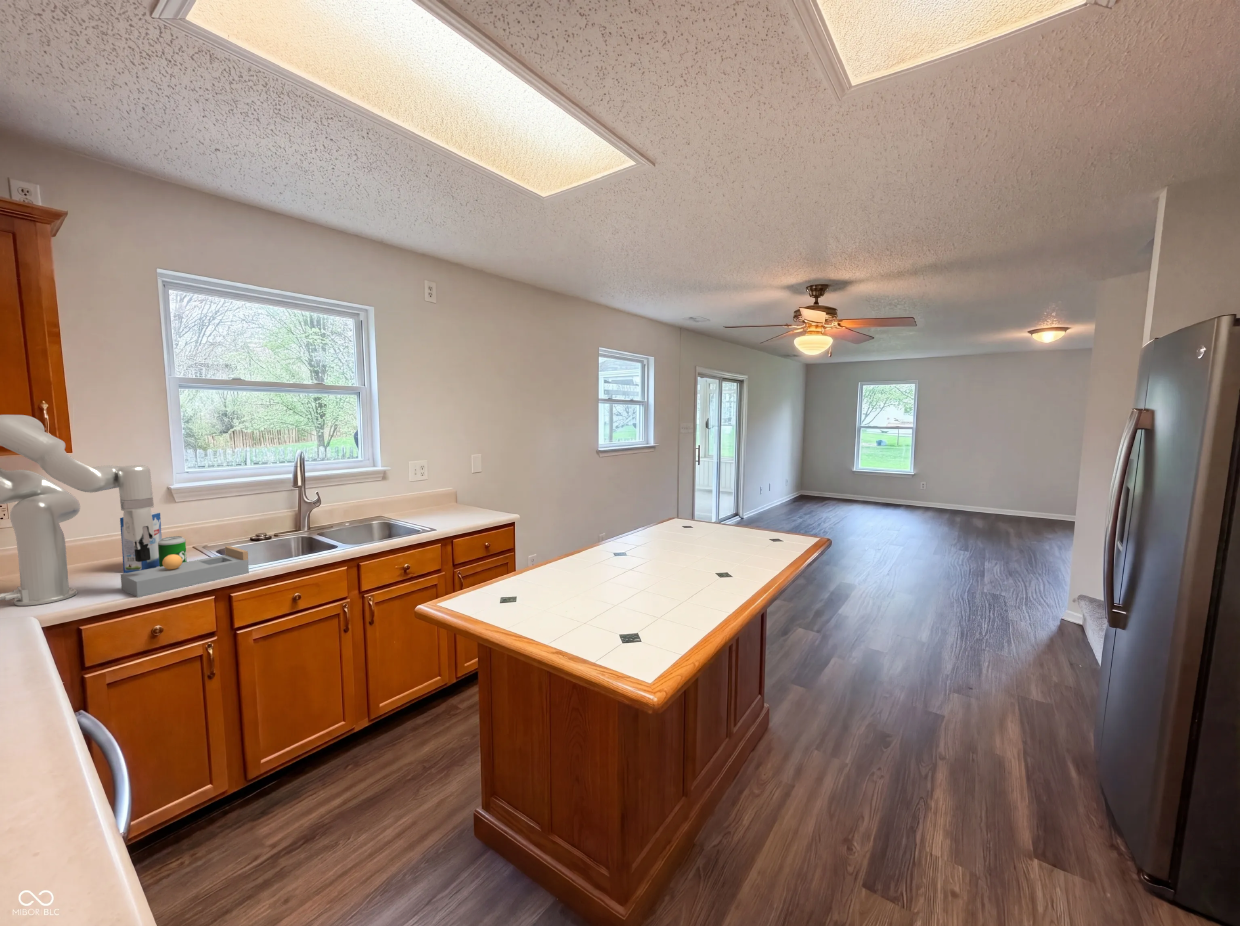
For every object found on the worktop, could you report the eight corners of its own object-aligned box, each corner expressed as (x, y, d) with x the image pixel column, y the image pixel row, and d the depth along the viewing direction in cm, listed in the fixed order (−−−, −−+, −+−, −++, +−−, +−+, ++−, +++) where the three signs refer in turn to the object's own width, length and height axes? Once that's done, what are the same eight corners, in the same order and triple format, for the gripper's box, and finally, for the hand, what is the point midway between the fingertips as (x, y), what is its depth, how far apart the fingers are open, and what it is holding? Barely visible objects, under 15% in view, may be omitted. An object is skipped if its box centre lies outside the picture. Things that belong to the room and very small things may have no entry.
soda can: (174, 573, 178) (172, 540, 177) (153, 573, 178) (151, 540, 177) (192, 567, 186) (190, 535, 185) (172, 567, 186) (171, 535, 185)
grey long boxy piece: (137, 597, 154) (136, 572, 154) (121, 589, 161) (120, 565, 161) (248, 572, 180) (247, 551, 179) (230, 566, 187) (229, 545, 186)
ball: (166, 572, 163) (165, 557, 163) (160, 569, 166) (159, 555, 166) (185, 568, 168) (184, 554, 167) (179, 566, 170) (178, 551, 170)
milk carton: (144, 565, 188) (141, 512, 186) (163, 564, 189) (160, 512, 187) (123, 573, 178) (119, 517, 176) (143, 572, 179) (140, 517, 177)
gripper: (112, 504, 159) (119, 560, 160) (129, 508, 151) (136, 567, 153) (144, 500, 165) (149, 554, 167) (161, 504, 158) (167, 560, 159)
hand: (143, 560), depth 160 cm, fingers closed
